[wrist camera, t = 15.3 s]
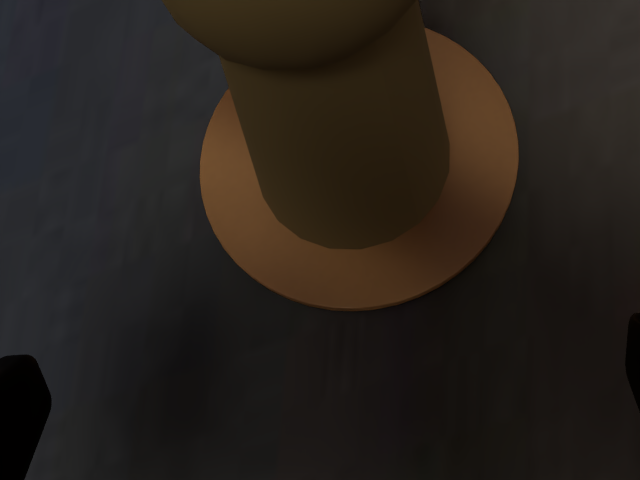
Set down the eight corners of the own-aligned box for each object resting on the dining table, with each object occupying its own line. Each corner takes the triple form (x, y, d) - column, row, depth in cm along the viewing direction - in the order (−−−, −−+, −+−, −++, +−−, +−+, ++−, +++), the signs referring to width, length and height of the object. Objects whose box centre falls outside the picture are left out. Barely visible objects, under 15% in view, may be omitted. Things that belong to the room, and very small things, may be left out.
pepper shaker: (231, 121, 20) (27, -219, 10) (399, 45, 20) (368, -380, 10) (297, 282, 18) (124, 62, 8) (486, 198, 18) (565, -140, 8)
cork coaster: (449, 364, 17) (450, 363, 17) (151, 244, 20) (146, 240, 19) (560, 68, 19) (563, 60, 19) (279, -3, 22) (277, -11, 22)
